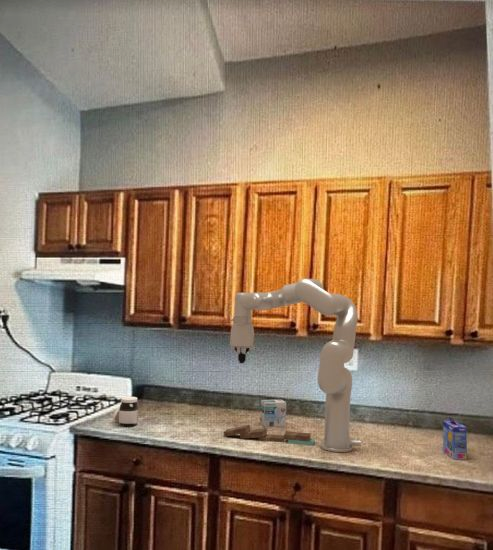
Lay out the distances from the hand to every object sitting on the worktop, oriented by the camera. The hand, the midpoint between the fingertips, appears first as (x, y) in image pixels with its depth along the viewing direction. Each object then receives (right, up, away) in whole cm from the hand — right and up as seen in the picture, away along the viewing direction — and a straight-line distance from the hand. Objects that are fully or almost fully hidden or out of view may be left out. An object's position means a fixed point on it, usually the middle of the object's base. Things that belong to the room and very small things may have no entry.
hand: (241, 362), depth 226 cm
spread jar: (-51, -27, +1) cm, 58 cm away
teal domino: (+19, -29, -17) cm, 38 cm away
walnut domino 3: (+7, -28, -15) cm, 33 cm away
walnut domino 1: (-6, -27, -11) cm, 30 cm away
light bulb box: (+14, -30, +8) cm, 34 cm away
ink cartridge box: (+81, -31, -29) cm, 92 cm away
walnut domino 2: (0, -27, -13) cm, 30 cm away
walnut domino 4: (+18, -27, -17) cm, 36 cm away
